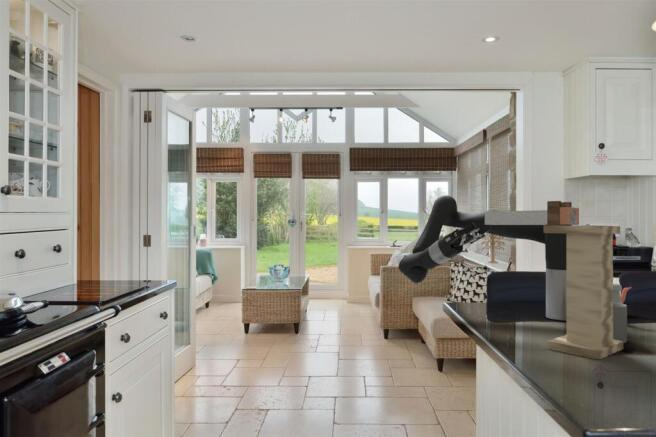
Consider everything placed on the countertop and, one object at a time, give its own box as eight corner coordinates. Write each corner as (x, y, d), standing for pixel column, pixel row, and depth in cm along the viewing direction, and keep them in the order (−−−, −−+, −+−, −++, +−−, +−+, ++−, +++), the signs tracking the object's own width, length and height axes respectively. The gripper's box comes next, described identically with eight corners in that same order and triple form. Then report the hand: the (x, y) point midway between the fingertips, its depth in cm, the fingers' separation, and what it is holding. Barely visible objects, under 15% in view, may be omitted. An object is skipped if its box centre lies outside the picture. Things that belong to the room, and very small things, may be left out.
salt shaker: (628, 324, 143) (627, 285, 143) (608, 323, 144) (608, 284, 145) (619, 321, 149) (619, 283, 149) (601, 320, 150) (601, 282, 150)
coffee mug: (632, 344, 118) (632, 307, 118) (591, 341, 121) (591, 305, 121) (615, 333, 131) (615, 300, 131) (578, 330, 134) (578, 298, 134)
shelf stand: (566, 338, 124) (566, 203, 125) (623, 349, 113) (622, 201, 114) (539, 346, 114) (540, 200, 115) (598, 359, 103) (598, 198, 104)
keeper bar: (494, 224, 138) (494, 210, 138) (579, 224, 118) (579, 208, 118) (481, 224, 134) (481, 209, 134) (567, 224, 114) (567, 207, 114)
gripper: (427, 239, 145) (464, 214, 134) (453, 239, 154) (489, 216, 143) (436, 259, 142) (474, 235, 131) (462, 258, 151) (500, 236, 140)
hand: (482, 225), depth 137 cm, fingers open, 8 cm apart
